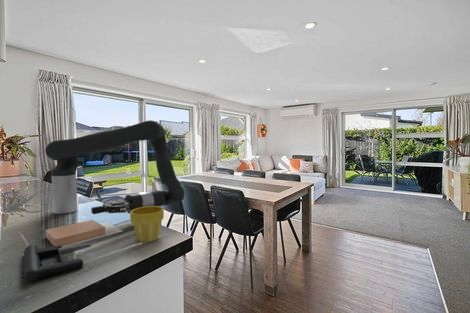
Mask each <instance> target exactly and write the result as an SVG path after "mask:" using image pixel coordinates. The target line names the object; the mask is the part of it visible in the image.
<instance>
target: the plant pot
mask: <svg viewBox="0 0 470 313" xmlns="http://www.w3.org/2000/svg"><path fill="white" fill-rule="evenodd" d="M164 214H165V213H164V208H163V206H147V207H140V208H136V209H134V210H132V211H131V212H130V217H129V218H130V222H131V224H132V225H133V228H134V232H135V235H136V240H137V241H138V242H139V241H140V242H141V243H151V242H152V243H153V242H154V241H157V240H158V239H160V238H159V237H160V231H161V226H162V221H163V220H164V216H165V215H164Z"/></svg>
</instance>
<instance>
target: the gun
mask: <svg viewBox="0 0 470 313" xmlns="http://www.w3.org/2000/svg"><path fill="white" fill-rule="evenodd" d="M91 245H92V244H91V243H90V242H89V241H88V242H83V243H78V244H75V245H71V246H67V247H63V248H62V247H59V246H53V245H52V246H49V247H48V246H47V247H44V248H39V247H38V246H37V245H36V244H33V243H31V244H29V245H27V246H26V247H25V249H24V251H20V252H19V253H20V254H21V253H24V256H23V257H24V258H23V261H24V262H23V264H24V265H23V267H24V269H23V270H24V272H22V273H21V272H20V275H23V274H24V276H22V277H19V278H18V279H24V281H26V283H29V284H30V283H34V282H36V281H38V280H40V279H45V278H50V277H53V276H57V275H62V274H65V273H69V272H73V271H76V270H77V271H78V270H80V269H82V267H83V265H84V261H83V259H81V258H74V259H68V260H64V261H63V258H62V255H61V254H66V253H69V252H73V251H76V250H77V251H78V250H81V249H85V248H88V247H91ZM55 256H57V257H58V260H59V262H57V263H56V262H55V263H54V262H51V263H50V264H47V265H42V266H41V260H43V259H47V258H52V257H55Z"/></svg>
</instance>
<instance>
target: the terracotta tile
mask: <svg viewBox="0 0 470 313" xmlns="http://www.w3.org/2000/svg"><path fill="white" fill-rule="evenodd" d="M103 234H105V227H104V226H102V225H101V224H100V223H99V222H97V221H95V220H94V219H90V220H85V221H80V222H76V223H72V224H67V225H61V226H58V227H57V226H56V227H53V228H52V227H51V228H48V229H45V238H46V239H47V240H48V241H49V242H50V244H51V245H52V247H53V246H58V247H61V246H62V245H66V244H70V243H73V242H77V241H81V240H85V239H88V238H92V237H96V236H100V235H103Z"/></svg>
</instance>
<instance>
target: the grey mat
mask: <svg viewBox="0 0 470 313" xmlns="http://www.w3.org/2000/svg"><path fill="white" fill-rule="evenodd" d="M99 224H101V225H102V226H104V227H105V234H103V235H100V236H96V237H92V238H88V239H85V240H81V241H77V242H73V243H70V244H66V245H62V246H60V248H63V247H68V246H74V245H79V244H83V243H87V242H89V241H92V240H96V239H99V238H103V237H104V238H105V237H107V236H112V235H114V234H115V235H116V234H118V233H121V232H123V230H122V229H121V228H119V227H117V226H115V225H113V224H111V223H109V222H108V221H106V222H101V223H99Z"/></svg>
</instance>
